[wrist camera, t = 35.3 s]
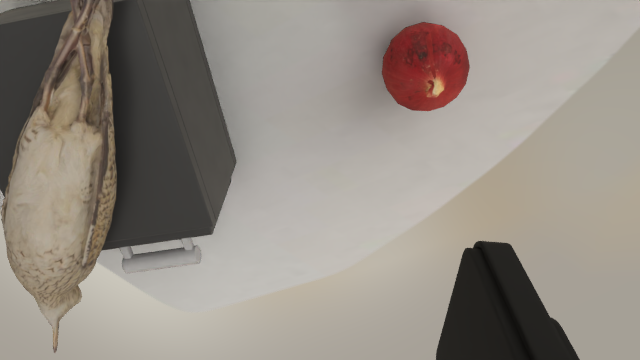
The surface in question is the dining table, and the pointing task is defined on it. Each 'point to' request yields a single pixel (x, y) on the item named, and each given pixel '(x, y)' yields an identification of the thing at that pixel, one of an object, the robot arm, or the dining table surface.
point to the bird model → (65, 168)
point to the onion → (425, 67)
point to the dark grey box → (133, 110)
